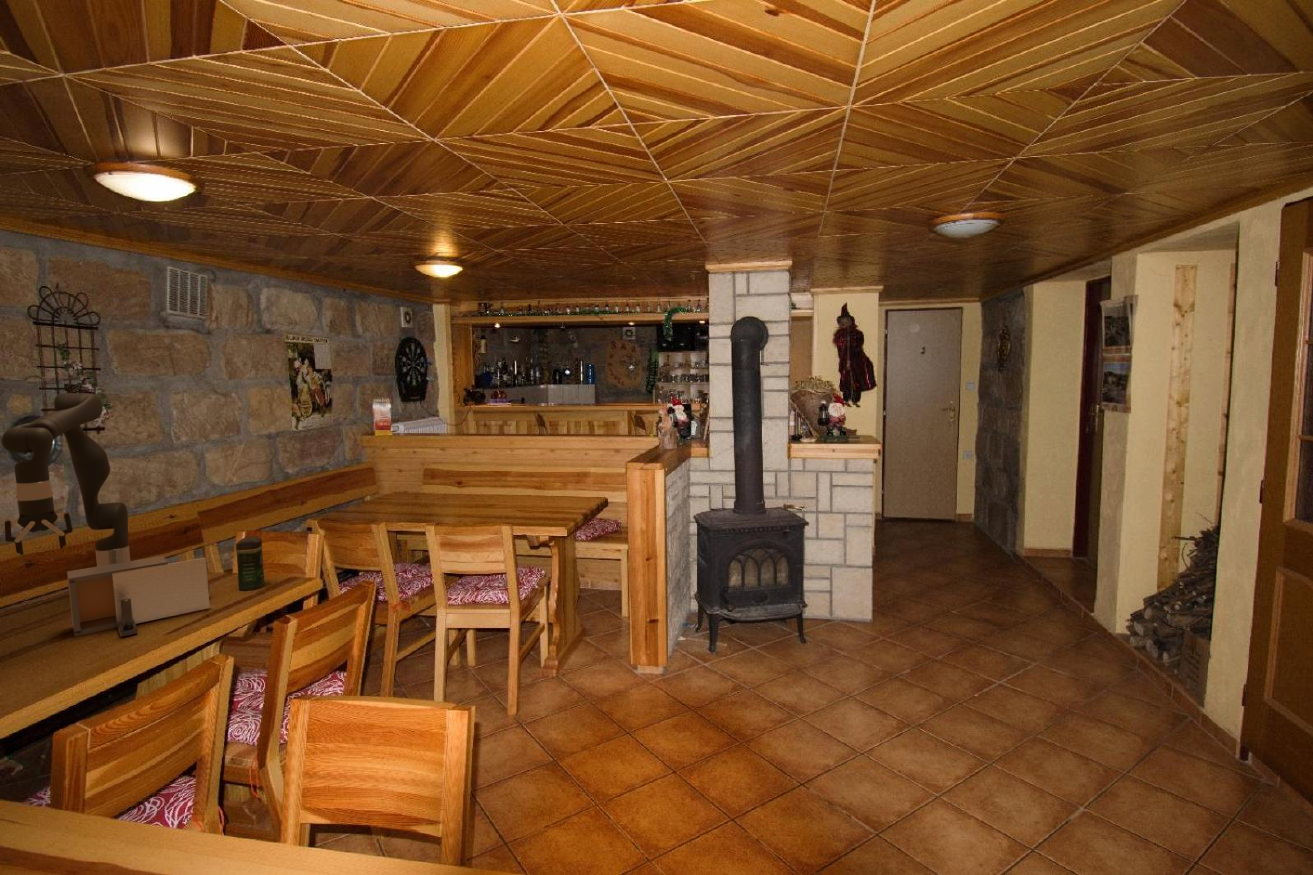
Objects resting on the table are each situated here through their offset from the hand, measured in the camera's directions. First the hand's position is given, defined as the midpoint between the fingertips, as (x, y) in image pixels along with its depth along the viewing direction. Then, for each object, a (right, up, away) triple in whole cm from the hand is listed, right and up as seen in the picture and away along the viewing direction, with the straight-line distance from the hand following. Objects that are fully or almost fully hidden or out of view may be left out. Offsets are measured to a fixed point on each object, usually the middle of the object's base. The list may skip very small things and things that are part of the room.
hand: (41, 551), depth 192 cm
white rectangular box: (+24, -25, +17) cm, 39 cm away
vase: (+19, -24, +38) cm, 49 cm away
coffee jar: (+30, -22, +52) cm, 64 cm away
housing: (+9, -26, +18) cm, 33 cm away
